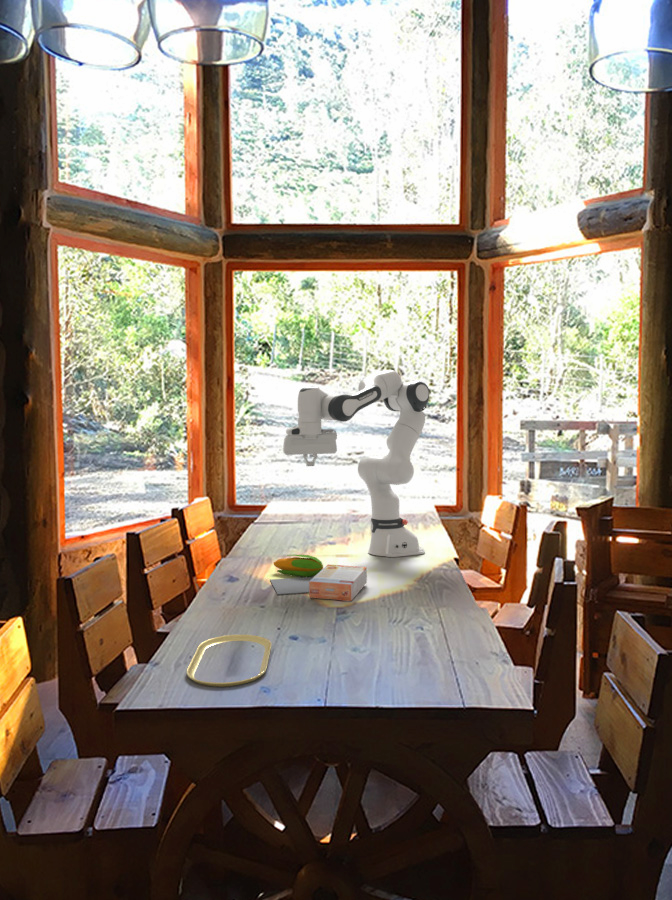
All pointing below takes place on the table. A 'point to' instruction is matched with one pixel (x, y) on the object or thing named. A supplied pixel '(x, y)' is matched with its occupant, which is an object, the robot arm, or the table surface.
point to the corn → (299, 566)
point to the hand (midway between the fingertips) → (310, 466)
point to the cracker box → (338, 582)
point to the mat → (291, 585)
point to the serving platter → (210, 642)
